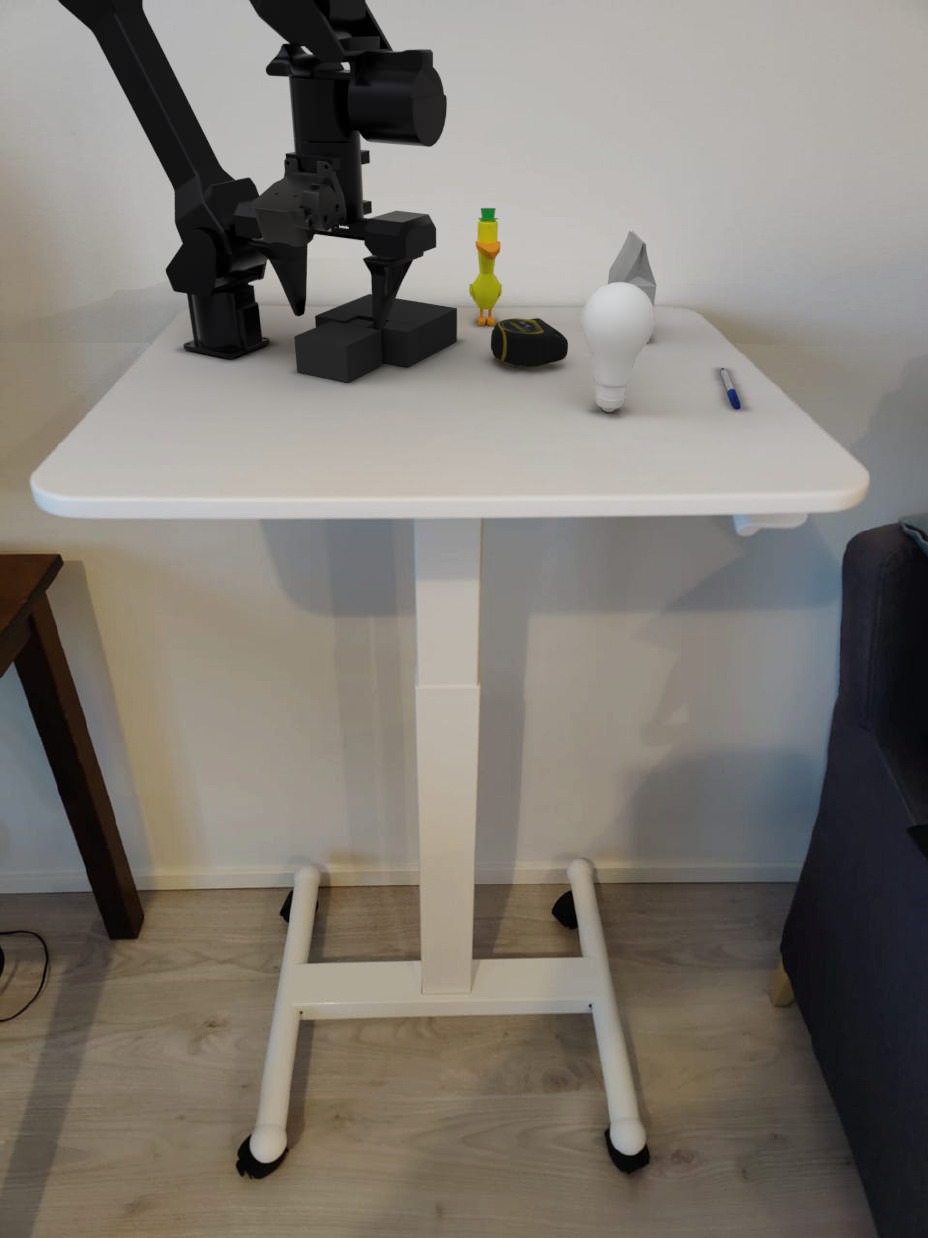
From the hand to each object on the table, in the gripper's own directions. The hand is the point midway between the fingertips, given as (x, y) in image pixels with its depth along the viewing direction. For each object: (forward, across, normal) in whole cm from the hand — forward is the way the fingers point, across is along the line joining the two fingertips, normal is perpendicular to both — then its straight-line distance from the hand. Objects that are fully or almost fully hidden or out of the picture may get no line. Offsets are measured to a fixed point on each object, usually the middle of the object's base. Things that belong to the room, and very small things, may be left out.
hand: (338, 322), depth 88 cm
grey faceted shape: (+5, +20, +26) cm, 33 cm away
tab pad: (+4, 0, 0) cm, 5 cm away
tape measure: (+5, +15, +12) cm, 20 cm away
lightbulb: (+5, +27, +3) cm, 27 cm away
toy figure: (+5, +5, +21) cm, 22 cm away
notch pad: (+4, 0, +9) cm, 10 cm away
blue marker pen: (+5, +35, +14) cm, 38 cm away
